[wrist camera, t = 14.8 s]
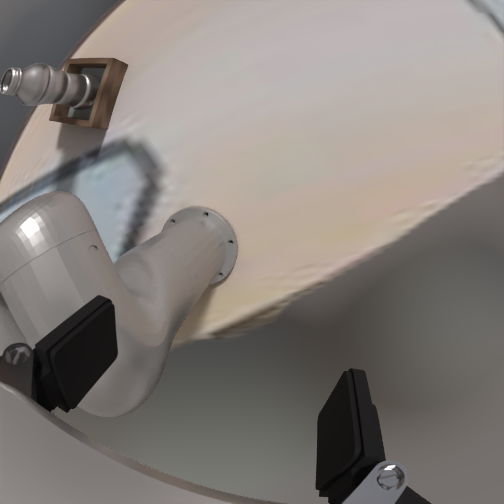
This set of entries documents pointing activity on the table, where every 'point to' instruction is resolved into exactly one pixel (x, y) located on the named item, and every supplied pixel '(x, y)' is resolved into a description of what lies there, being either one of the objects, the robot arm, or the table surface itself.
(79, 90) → the silver rounded threaded piece
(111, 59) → the square wooden frame
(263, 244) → the table surface
